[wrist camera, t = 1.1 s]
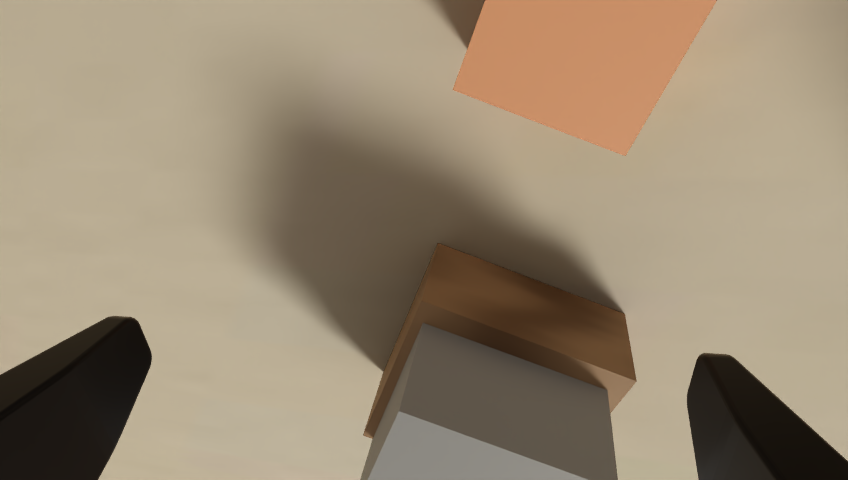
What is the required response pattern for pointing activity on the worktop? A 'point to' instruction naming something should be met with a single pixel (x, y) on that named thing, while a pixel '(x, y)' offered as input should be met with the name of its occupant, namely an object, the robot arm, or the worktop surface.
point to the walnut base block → (513, 325)
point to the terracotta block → (580, 61)
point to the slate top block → (489, 419)
